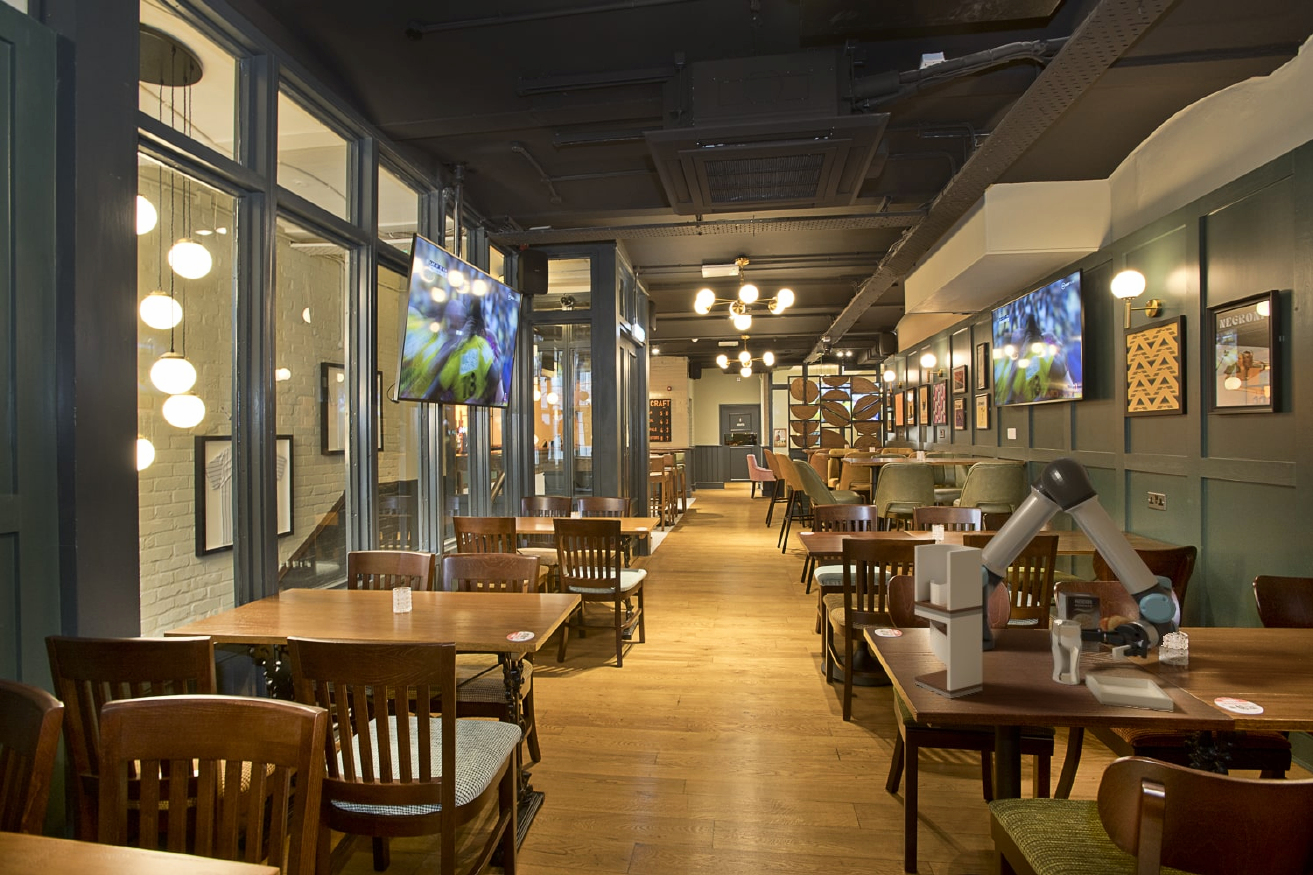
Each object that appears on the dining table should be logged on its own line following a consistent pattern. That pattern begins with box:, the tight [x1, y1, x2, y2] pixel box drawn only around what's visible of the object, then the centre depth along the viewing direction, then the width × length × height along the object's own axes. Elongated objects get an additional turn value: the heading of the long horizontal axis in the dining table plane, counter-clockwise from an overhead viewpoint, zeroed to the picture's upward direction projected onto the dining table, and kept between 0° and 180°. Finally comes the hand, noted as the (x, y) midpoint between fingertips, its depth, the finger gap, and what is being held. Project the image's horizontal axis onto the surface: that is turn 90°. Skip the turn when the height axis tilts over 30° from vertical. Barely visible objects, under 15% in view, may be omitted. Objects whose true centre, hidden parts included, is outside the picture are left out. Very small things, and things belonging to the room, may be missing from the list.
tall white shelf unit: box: [914, 542, 983, 698], centre depth 167 cm, size 11×11×35 cm
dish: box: [1084, 672, 1174, 712], centre depth 161 cm, size 14×14×3 cm
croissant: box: [1100, 614, 1132, 631], centre depth 211 cm, size 21×10×8 cm, turn 20°
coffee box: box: [1057, 590, 1101, 652], centre depth 200 cm, size 9×6×16 cm
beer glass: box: [1050, 618, 1082, 686], centre depth 172 cm, size 7×7×15 cm
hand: (1086, 646), depth 175 cm, fingers open, 13 cm apart
